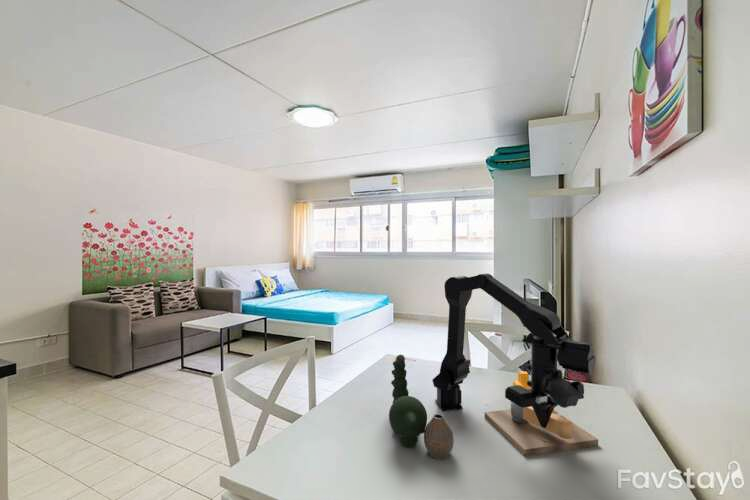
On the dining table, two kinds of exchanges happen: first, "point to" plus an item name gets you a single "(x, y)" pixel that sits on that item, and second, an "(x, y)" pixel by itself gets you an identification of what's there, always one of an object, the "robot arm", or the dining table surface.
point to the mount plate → (537, 434)
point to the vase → (438, 437)
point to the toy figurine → (405, 408)
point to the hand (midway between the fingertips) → (543, 427)
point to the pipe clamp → (522, 380)
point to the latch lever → (555, 422)
